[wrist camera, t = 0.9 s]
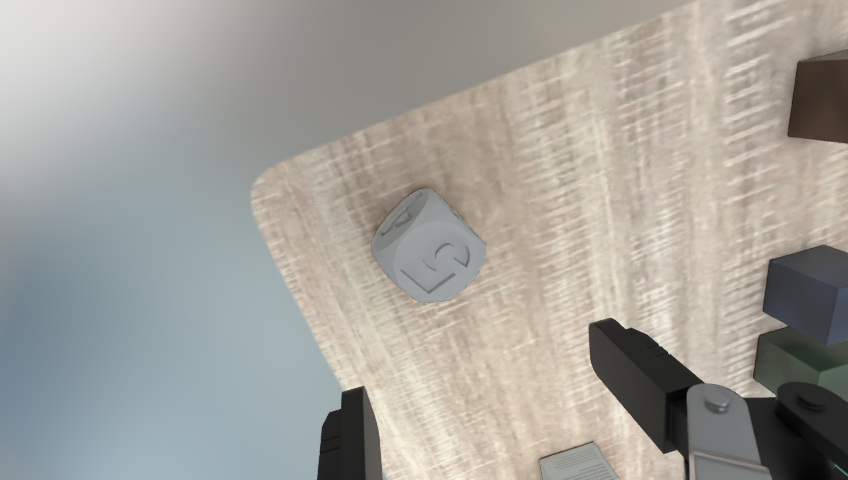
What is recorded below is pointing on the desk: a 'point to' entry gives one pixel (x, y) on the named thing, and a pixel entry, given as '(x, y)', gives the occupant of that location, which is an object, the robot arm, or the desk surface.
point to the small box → (578, 465)
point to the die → (428, 248)
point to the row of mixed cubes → (811, 257)
